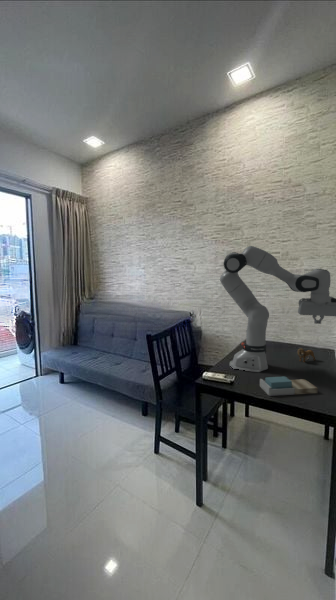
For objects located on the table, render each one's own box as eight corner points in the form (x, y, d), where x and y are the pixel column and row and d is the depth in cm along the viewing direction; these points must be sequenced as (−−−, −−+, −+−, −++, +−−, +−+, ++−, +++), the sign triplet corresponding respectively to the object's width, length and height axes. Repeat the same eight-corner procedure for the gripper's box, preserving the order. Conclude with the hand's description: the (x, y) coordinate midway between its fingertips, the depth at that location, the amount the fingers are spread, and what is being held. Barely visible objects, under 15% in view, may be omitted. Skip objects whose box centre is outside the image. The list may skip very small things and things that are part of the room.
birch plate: (304, 383, 128) (304, 379, 128) (317, 393, 118) (317, 387, 118) (283, 385, 127) (283, 380, 127) (294, 394, 118) (295, 389, 117)
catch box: (283, 385, 127) (283, 377, 127) (294, 394, 118) (294, 386, 117) (259, 386, 127) (259, 378, 126) (269, 395, 117) (269, 387, 116)
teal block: (284, 376, 125) (265, 377, 124) (291, 381, 119) (271, 382, 118) (284, 386, 125) (265, 387, 124) (291, 391, 119) (271, 392, 119)
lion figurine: (302, 364, 156) (302, 350, 155) (294, 361, 160) (295, 347, 160) (317, 360, 162) (318, 346, 161) (309, 357, 167) (310, 344, 166)
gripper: (300, 298, 137) (299, 323, 138) (342, 299, 133) (340, 325, 134) (297, 297, 143) (295, 321, 144) (337, 298, 139) (335, 323, 140)
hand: (317, 323), depth 139 cm, fingers closed
